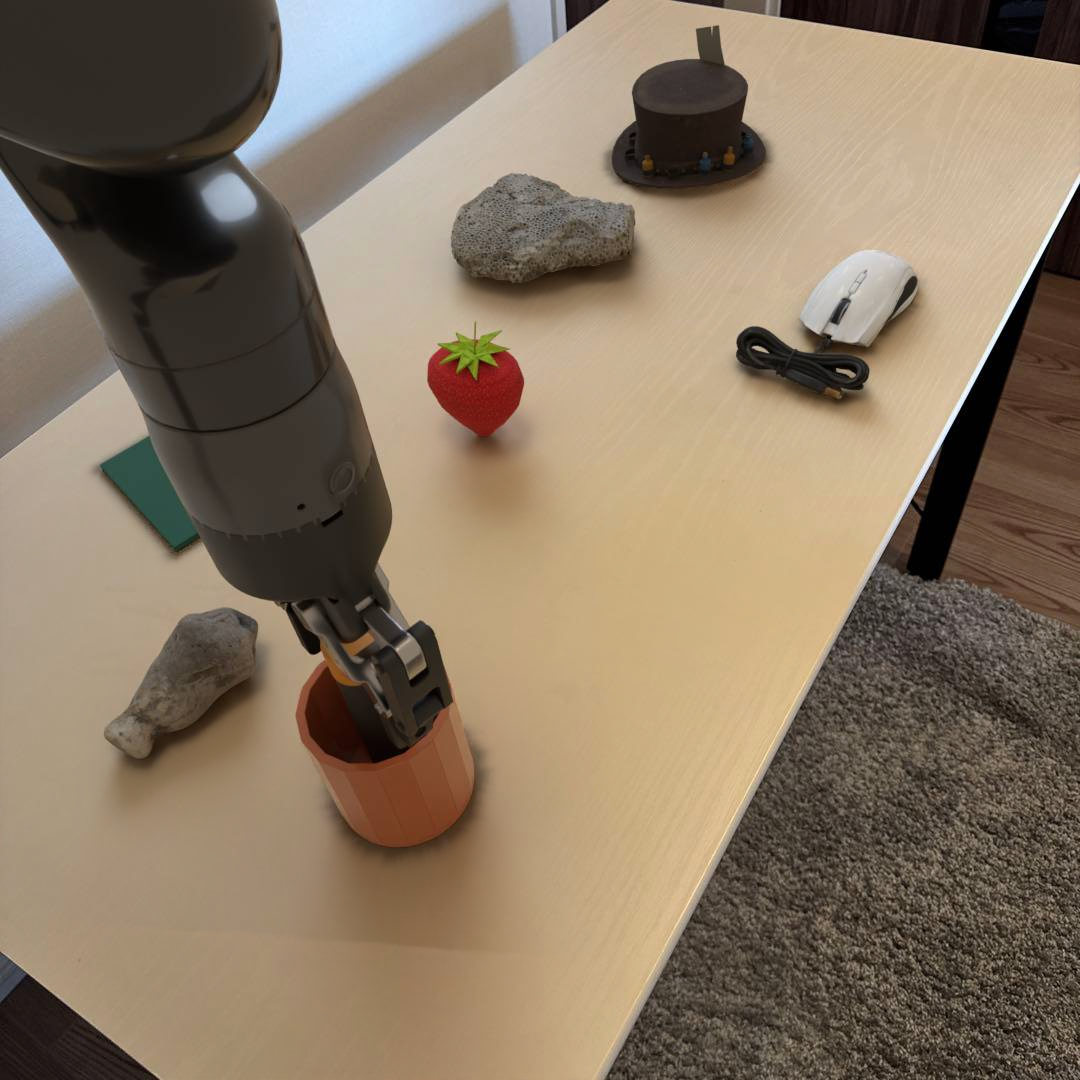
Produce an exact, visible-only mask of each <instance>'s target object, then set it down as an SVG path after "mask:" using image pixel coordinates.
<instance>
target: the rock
mask: <svg viewBox="0 0 1080 1080" xmlns="http://www.w3.org/2000/svg"><path fill="white" fill-rule="evenodd" d="M635 215H636V211H635V207H634V206H633V205H632V204H625V203H624V202H618V203H615V202H612V201H608V202H603V201H602V200H601V199H596V198H592V199H591V198H589V197H585V196H575V195H572V194H571V193H570V192H569V191H567V190H565V189H562V188H561V186H560V185H559V184H557V183H556V182H553V181H550V180H545V179H541V178H539V177H537V176H534V175H532V174H531V175H530V174H529V175H528V174H527V173H517V172H510V173H509V174H506V175H504V176H502V177H500V178H498V179H497V181H496V182H495V183H494V184H493V186H487V187H485V189H483V190H482V191H481V192H479V193H478V194H477V196H475V197H474V198H472V199H471V200H469V201H468V202H466V203H463V204H462V205H461V206H460V207H459V208H458V210H457V212H456V214H455V219H454V222H453V225H452V230H451V235H450V240H451V241H450V242H451V243H450V247H451V254H452V256H453V259H454V260H455V261H456V264H457V265H458V266H460V267H461V268H462V269H464V270H468V271H471V272H470V276H472V277H473V278H485V277H486V278H489V279H494V280H497V281H498V280H499V281H510V282H511V283H513V284H515V283H518V284H523V283H528V282H530V281H532V280H535V279H537V278H539V277H541V276H542V275H544V274H545V273H549V272H551V273H553V272H556V271H557V272H558V271H561V270H565V269H567V268H574V267H577V268H579V267H580V266H582V267H586V266H592V267H594V266H595V267H596V266H600V265H603V264H605V263H609V262H612V261H615V262H617V261H619V260H625V259H629V258H630V257H632V255H631V254H632V251H633V250H632V248H633V242H634V241H635V239H634V238H635V226H636V218H635V217H636V216H635Z"/></svg>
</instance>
